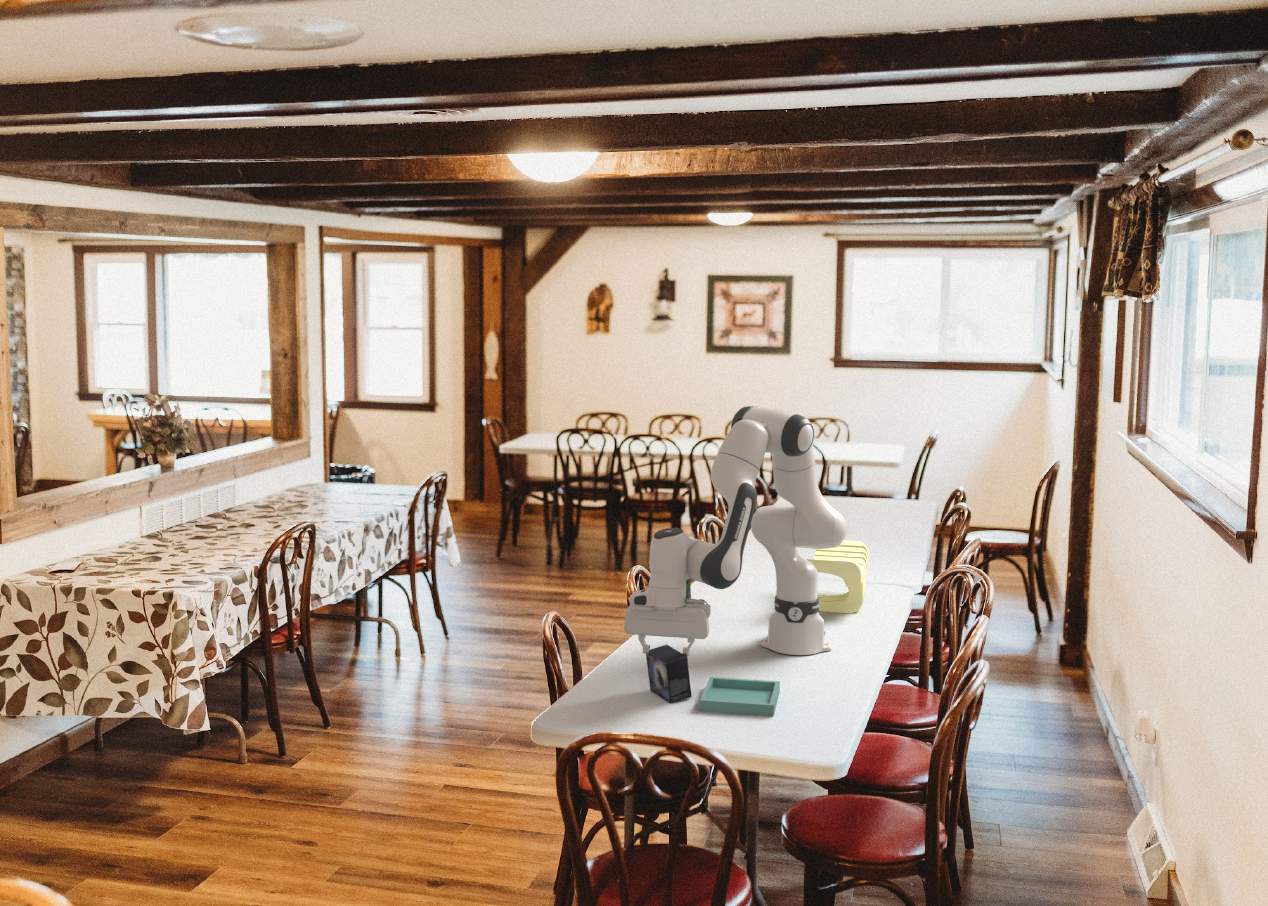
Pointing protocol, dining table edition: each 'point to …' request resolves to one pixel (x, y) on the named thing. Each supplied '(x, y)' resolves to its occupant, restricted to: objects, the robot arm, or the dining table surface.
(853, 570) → the slatted curved stool
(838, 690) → the dining table surface
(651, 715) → the dining table surface
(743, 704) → the teal tray
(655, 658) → the small box
